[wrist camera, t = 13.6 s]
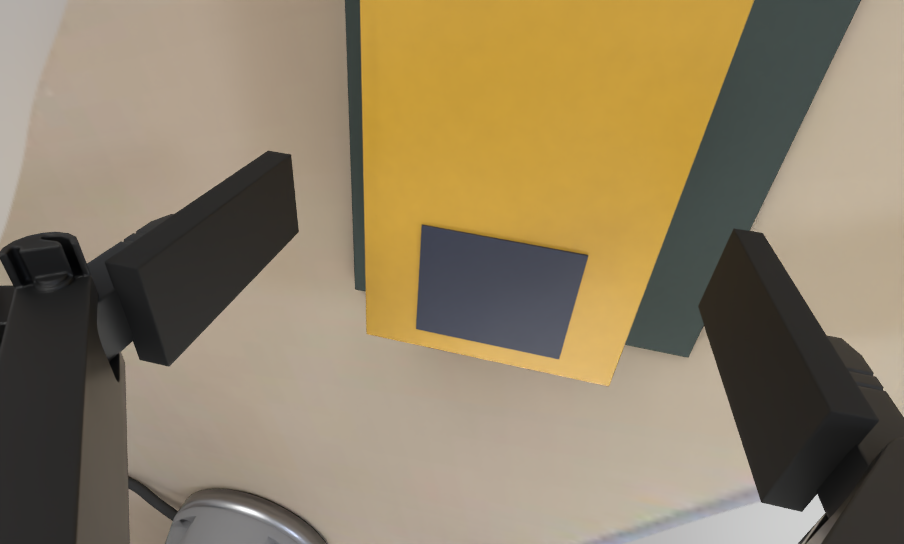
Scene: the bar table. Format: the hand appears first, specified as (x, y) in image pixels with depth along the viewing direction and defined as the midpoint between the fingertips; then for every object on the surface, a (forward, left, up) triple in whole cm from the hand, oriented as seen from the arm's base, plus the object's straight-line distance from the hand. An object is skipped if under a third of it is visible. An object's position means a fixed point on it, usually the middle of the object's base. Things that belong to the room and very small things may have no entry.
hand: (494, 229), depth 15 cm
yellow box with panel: (0, 0, -8) cm, 8 cm away
